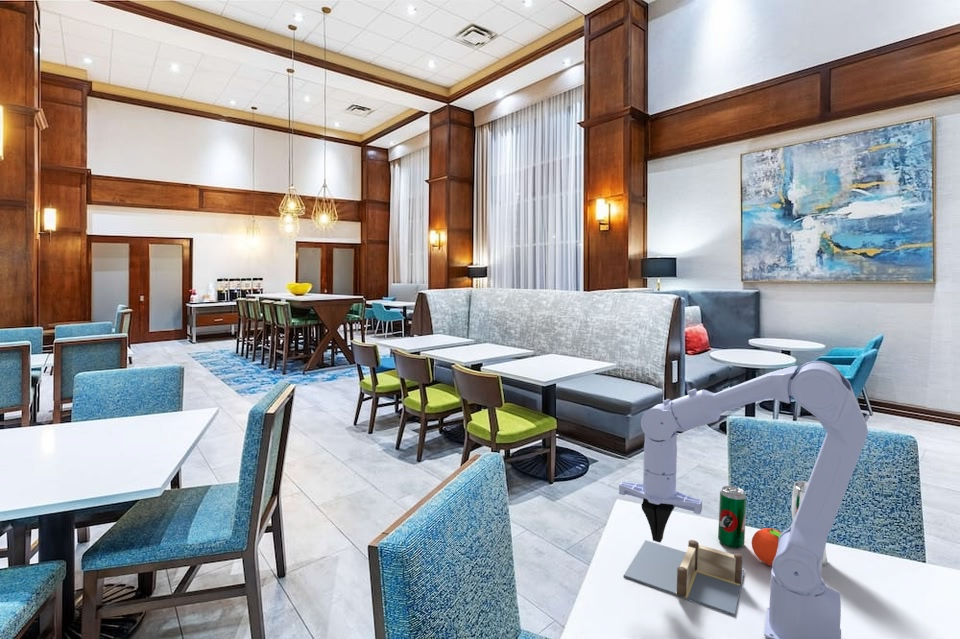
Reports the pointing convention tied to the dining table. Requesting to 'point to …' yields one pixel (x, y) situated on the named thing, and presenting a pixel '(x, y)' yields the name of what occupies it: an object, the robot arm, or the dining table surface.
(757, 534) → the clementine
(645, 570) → the card
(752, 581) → the dining table surface
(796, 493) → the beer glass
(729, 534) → the soda can
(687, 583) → the panel
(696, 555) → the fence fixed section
